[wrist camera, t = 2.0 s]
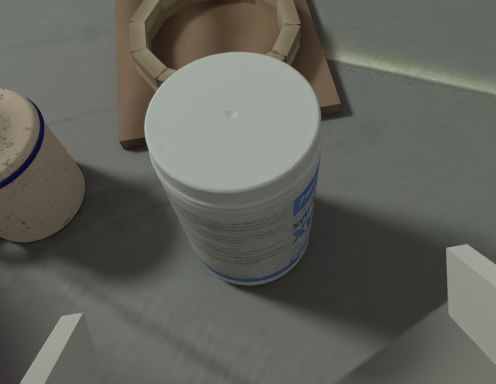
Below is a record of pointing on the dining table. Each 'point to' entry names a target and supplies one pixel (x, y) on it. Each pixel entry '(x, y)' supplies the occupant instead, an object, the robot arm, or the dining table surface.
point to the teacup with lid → (34, 174)
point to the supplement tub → (239, 161)
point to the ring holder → (209, 47)
